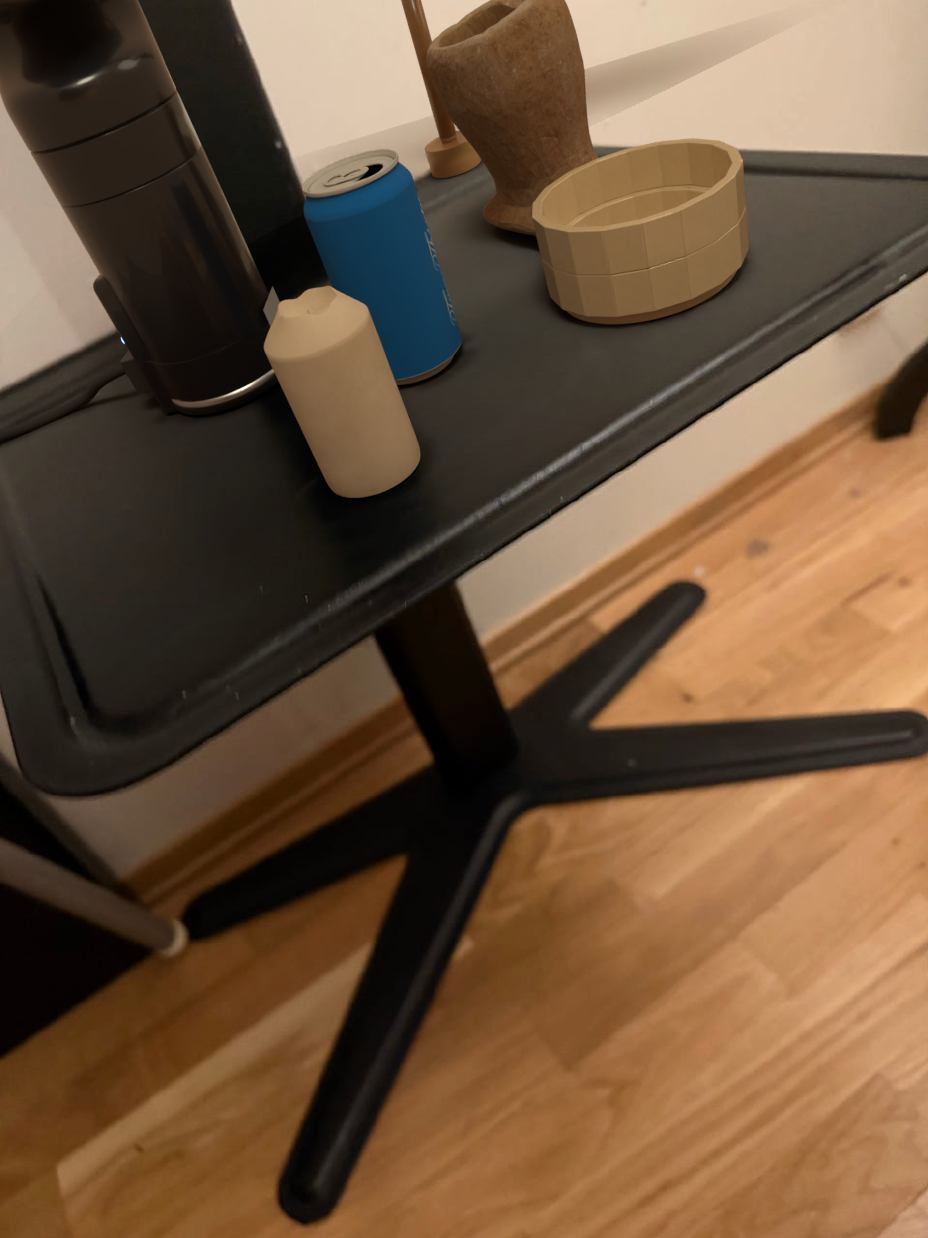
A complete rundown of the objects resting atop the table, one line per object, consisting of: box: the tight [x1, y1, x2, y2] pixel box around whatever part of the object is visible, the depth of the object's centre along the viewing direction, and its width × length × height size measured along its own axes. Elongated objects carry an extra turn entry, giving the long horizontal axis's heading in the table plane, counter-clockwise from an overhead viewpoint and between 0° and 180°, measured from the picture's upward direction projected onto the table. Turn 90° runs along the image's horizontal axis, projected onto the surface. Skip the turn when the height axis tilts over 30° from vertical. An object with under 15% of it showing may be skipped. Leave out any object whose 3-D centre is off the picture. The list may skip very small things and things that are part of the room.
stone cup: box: [427, 0, 600, 237], centre depth 62 cm, size 15×12×15 cm
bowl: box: [532, 137, 750, 325], centre depth 55 cm, size 12×12×6 cm
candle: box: [264, 285, 421, 499], centre depth 46 cm, size 6×6×10 cm
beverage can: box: [301, 148, 463, 386], centre depth 53 cm, size 6×6×12 cm
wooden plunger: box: [400, 0, 482, 179], centre depth 78 cm, size 5×5×17 cm
